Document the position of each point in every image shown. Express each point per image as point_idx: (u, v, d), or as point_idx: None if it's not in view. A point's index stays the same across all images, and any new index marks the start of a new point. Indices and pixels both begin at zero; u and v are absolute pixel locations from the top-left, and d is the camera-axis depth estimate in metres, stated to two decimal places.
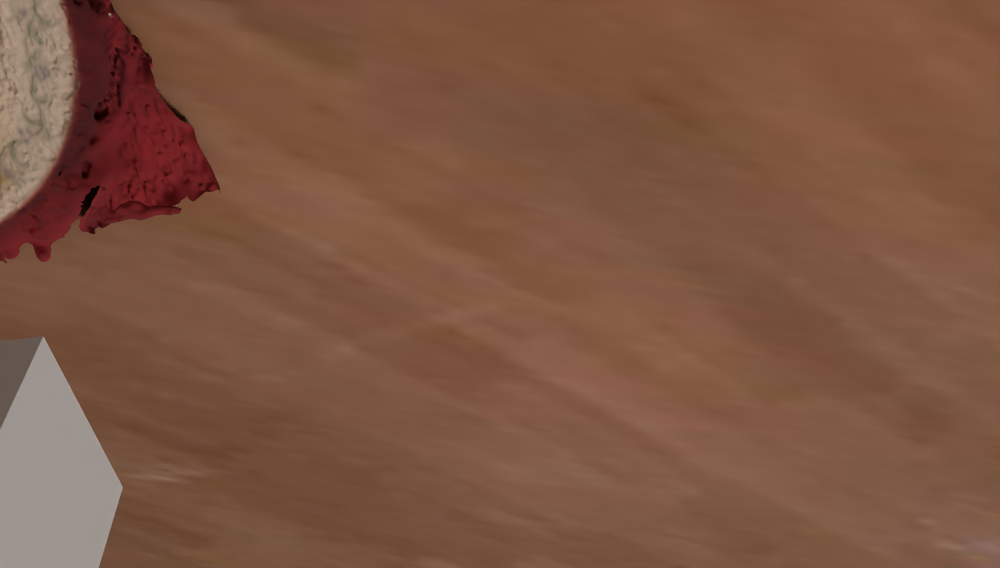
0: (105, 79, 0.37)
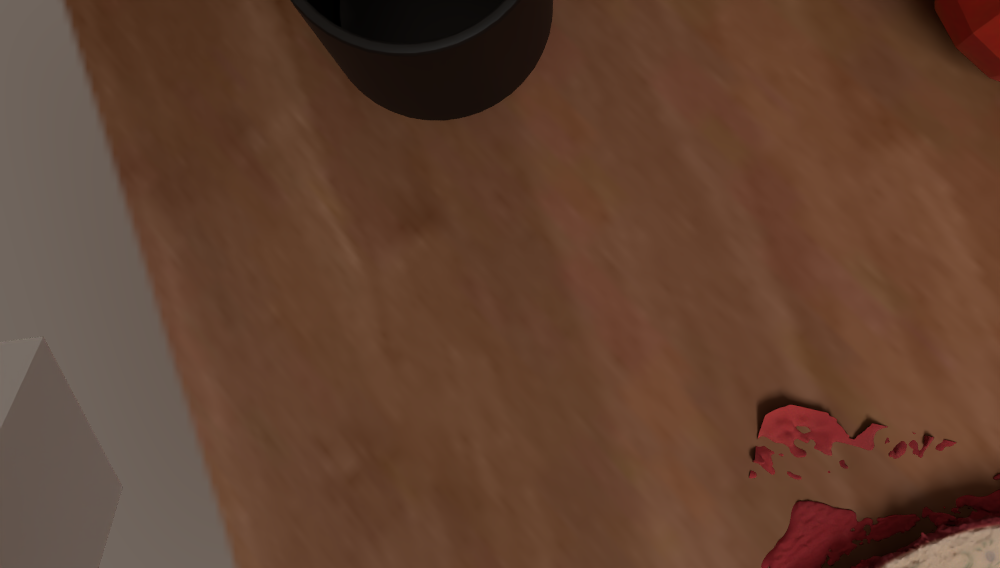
0: None
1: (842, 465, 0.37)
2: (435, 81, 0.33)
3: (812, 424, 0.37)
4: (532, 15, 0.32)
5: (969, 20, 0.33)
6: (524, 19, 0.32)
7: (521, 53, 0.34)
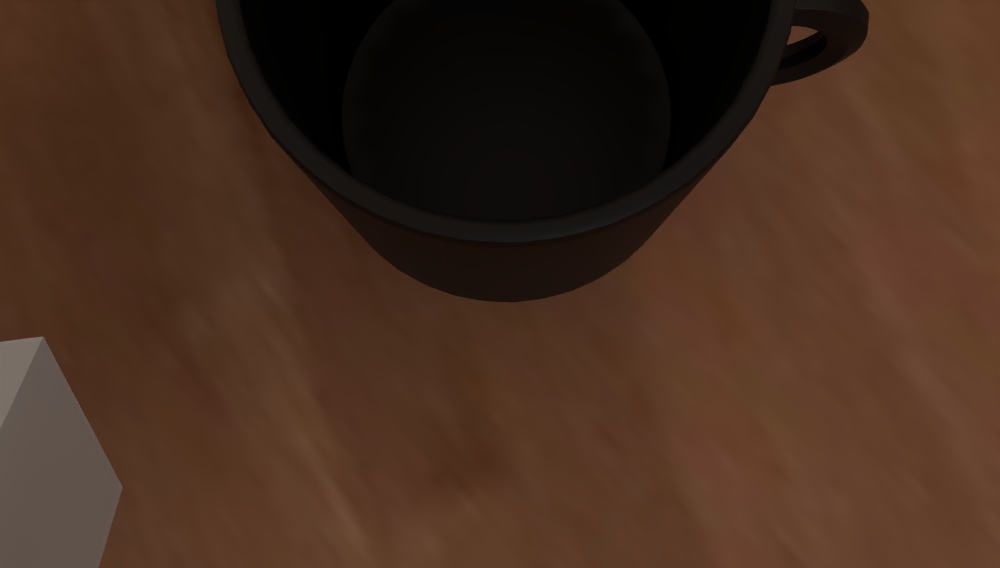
0: None
1: None
2: (532, 271, 0.17)
3: None
4: None
5: None
6: None
7: (672, 211, 0.19)
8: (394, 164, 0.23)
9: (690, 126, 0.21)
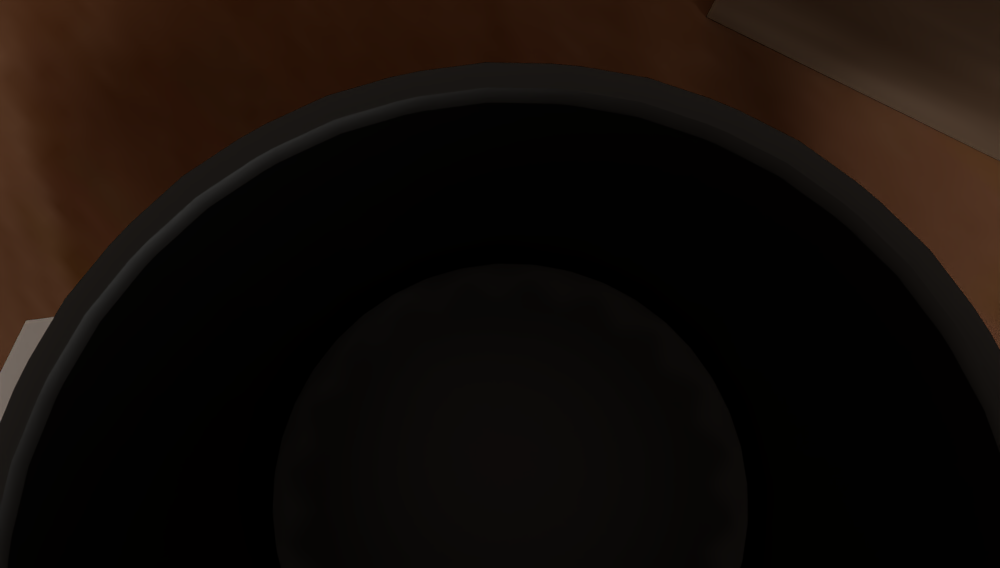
0: None
1: None
2: None
3: None
4: None
5: None
6: None
7: None
8: None
9: None
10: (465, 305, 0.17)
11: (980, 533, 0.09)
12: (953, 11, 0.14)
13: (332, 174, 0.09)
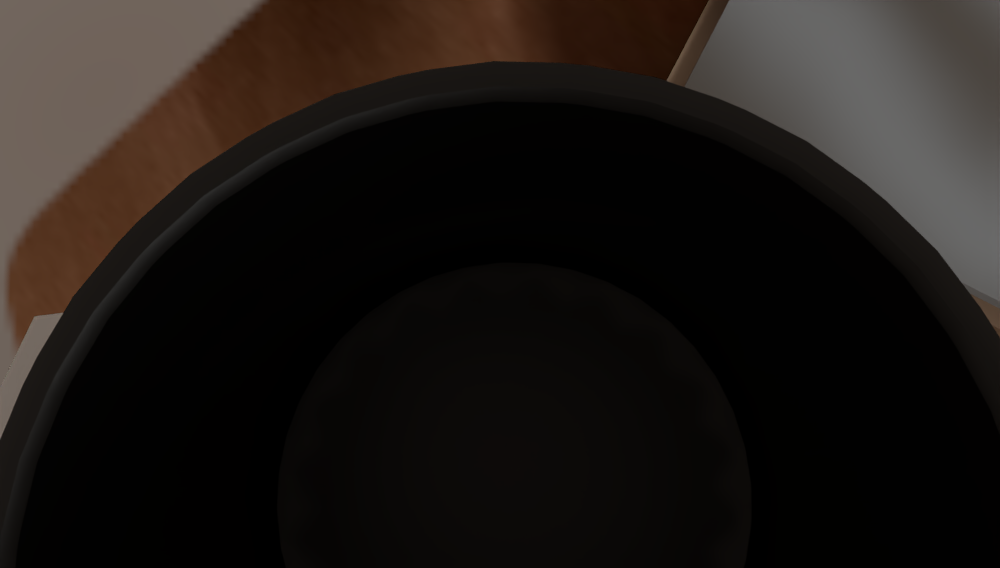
0: None
1: None
2: None
3: None
4: None
5: None
6: None
7: None
8: None
9: None
10: (469, 304, 0.17)
11: (986, 533, 0.09)
12: None
13: (340, 173, 0.09)
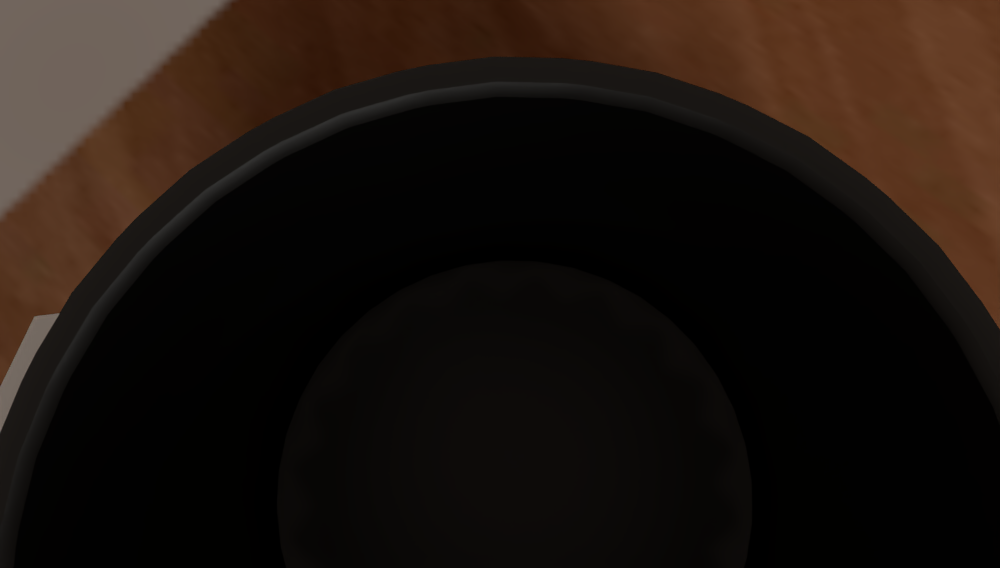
0: None
1: None
2: None
3: None
4: None
5: None
6: None
7: None
8: None
9: None
10: (470, 303, 0.17)
11: (988, 530, 0.09)
12: None
13: (339, 169, 0.09)
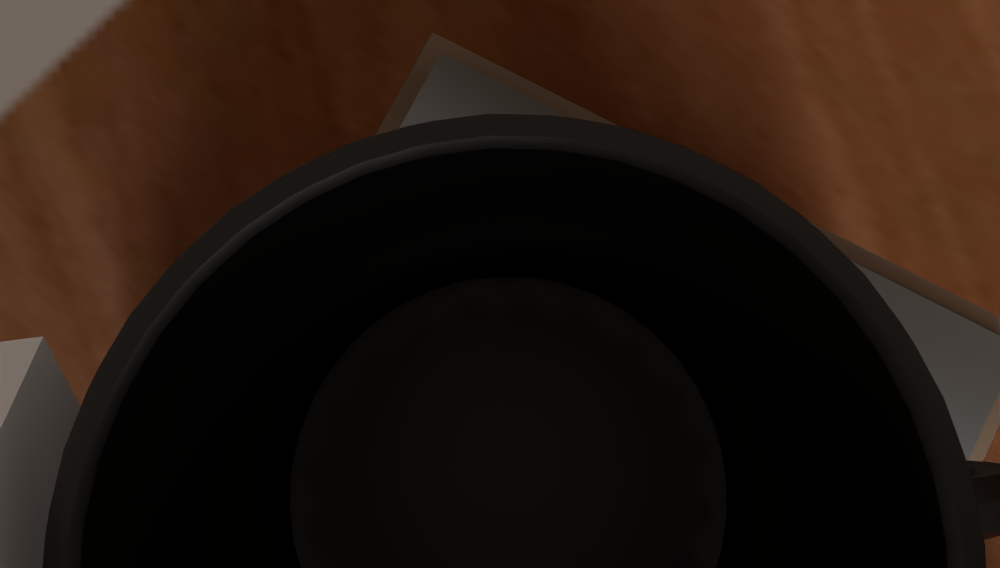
0: None
1: None
2: None
3: None
4: None
5: None
6: None
7: None
8: (361, 562, 0.17)
9: (764, 564, 0.15)
10: (467, 315, 0.18)
11: (911, 517, 0.10)
12: None
13: (354, 207, 0.11)
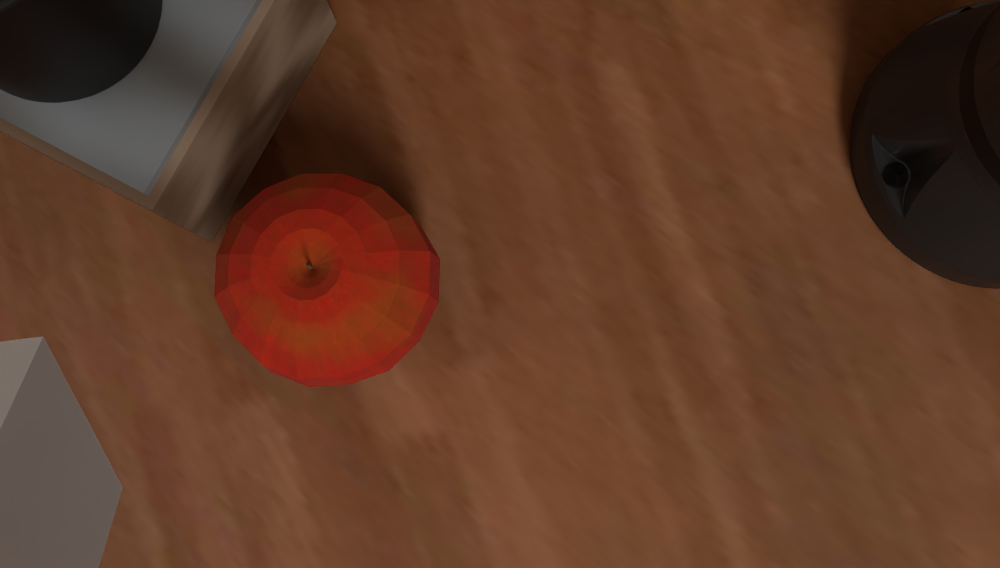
0: None
1: None
2: (0, 56, 0.36)
3: None
4: None
5: None
6: (72, 0, 0.35)
7: (99, 36, 0.38)
8: None
9: None
10: None
11: None
12: None
13: None
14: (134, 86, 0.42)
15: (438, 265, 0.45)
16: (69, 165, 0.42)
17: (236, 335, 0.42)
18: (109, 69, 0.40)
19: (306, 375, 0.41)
